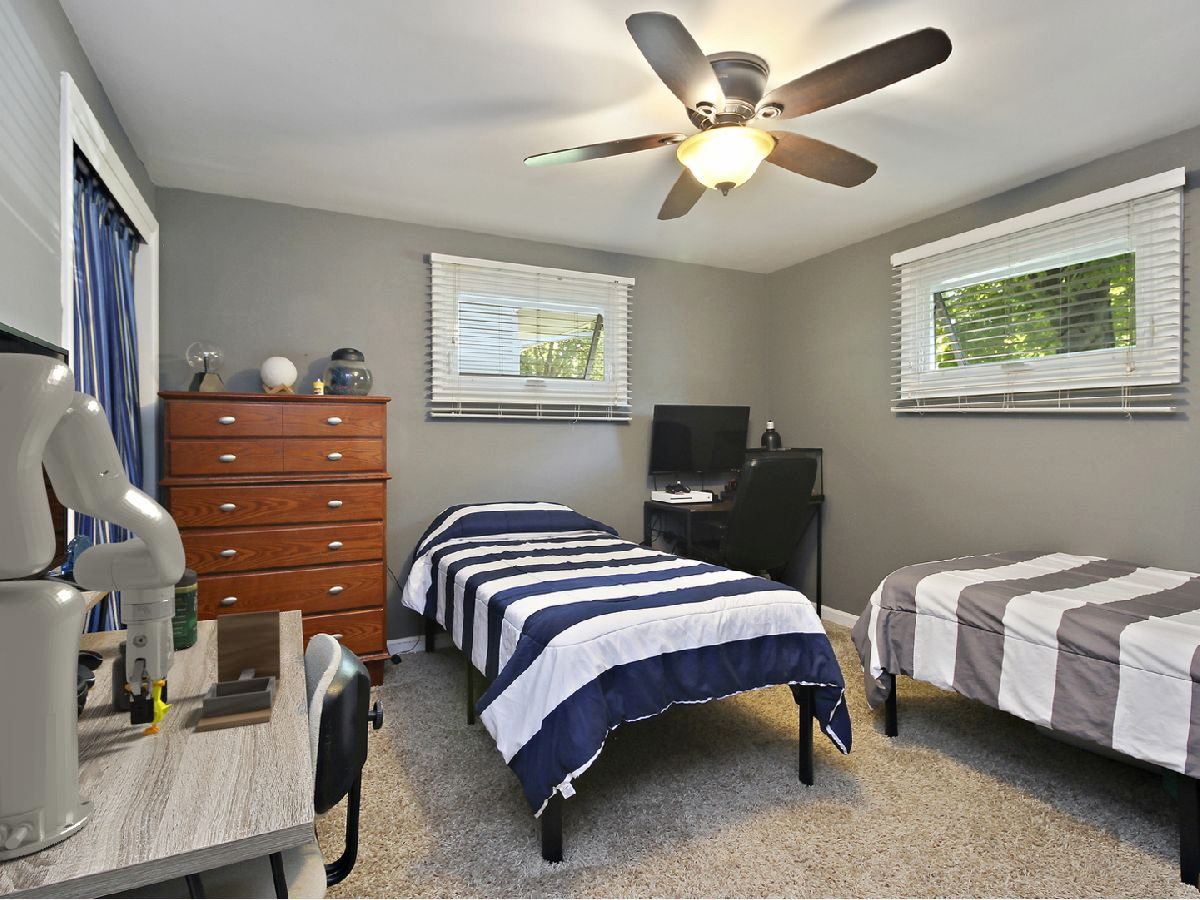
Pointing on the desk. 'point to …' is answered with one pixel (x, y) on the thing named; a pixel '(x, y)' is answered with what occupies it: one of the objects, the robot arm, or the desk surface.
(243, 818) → the desk surface
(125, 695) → the supplement bottle
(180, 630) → the coffee jar
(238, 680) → the open wooden box
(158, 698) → the toy figure
